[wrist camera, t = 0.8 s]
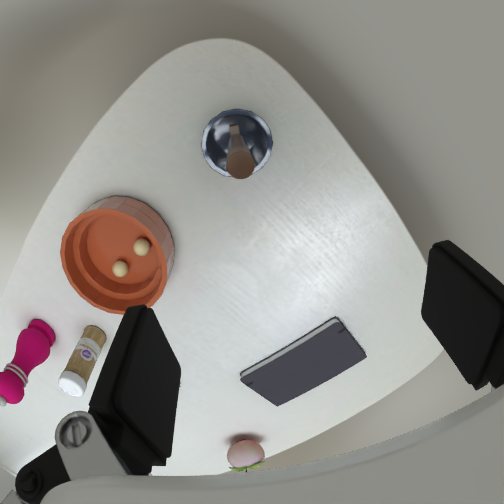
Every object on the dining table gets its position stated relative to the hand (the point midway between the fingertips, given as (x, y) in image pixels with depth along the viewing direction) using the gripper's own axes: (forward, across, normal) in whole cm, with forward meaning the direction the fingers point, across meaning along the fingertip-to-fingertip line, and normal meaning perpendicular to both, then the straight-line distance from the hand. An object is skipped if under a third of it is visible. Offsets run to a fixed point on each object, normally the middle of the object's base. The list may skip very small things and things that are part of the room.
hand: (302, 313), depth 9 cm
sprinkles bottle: (+31, +33, +23) cm, 51 cm away
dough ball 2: (+30, +17, +8) cm, 35 cm away
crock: (+31, +1, -3) cm, 31 cm away
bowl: (+31, +20, +8) cm, 38 cm away
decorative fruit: (+31, +14, +64) cm, 72 cm away
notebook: (+31, -3, +38) cm, 49 cm away
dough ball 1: (+30, +21, +10) cm, 38 cm away
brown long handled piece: (+30, +1, -3) cm, 30 cm away
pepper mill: (+31, +46, +21) cm, 59 cm away
